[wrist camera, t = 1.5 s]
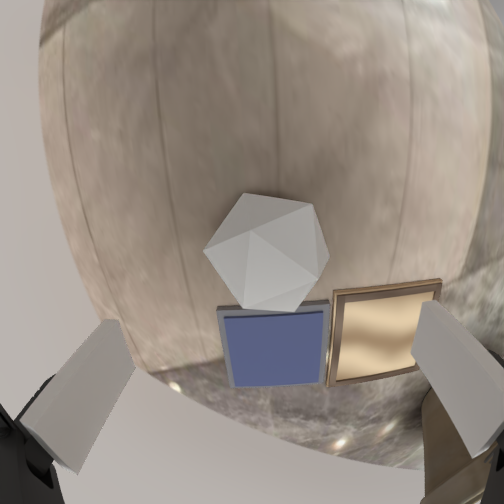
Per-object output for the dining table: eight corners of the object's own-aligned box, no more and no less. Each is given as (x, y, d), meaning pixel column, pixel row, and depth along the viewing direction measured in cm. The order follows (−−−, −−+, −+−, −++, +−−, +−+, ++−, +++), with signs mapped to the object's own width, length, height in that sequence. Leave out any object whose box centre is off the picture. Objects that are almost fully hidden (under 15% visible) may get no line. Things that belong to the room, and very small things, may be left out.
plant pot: (397, 448, 36) (423, 533, 15) (378, 386, 30) (426, 524, 9) (497, 385, 31) (541, 451, 11) (511, 297, 25) (595, 374, 4)
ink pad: (217, 306, 27) (215, 312, 26) (328, 300, 26) (330, 305, 25) (231, 383, 30) (230, 390, 29) (322, 378, 29) (323, 385, 28)
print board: (333, 290, 26) (335, 294, 25) (439, 278, 25) (443, 281, 24) (325, 383, 30) (326, 388, 29) (416, 366, 29) (419, 370, 28)
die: (240, 294, 27) (311, 349, 19) (169, 251, 21) (233, 313, 14) (287, 224, 28) (370, 255, 20) (230, 167, 22) (322, 180, 14)
